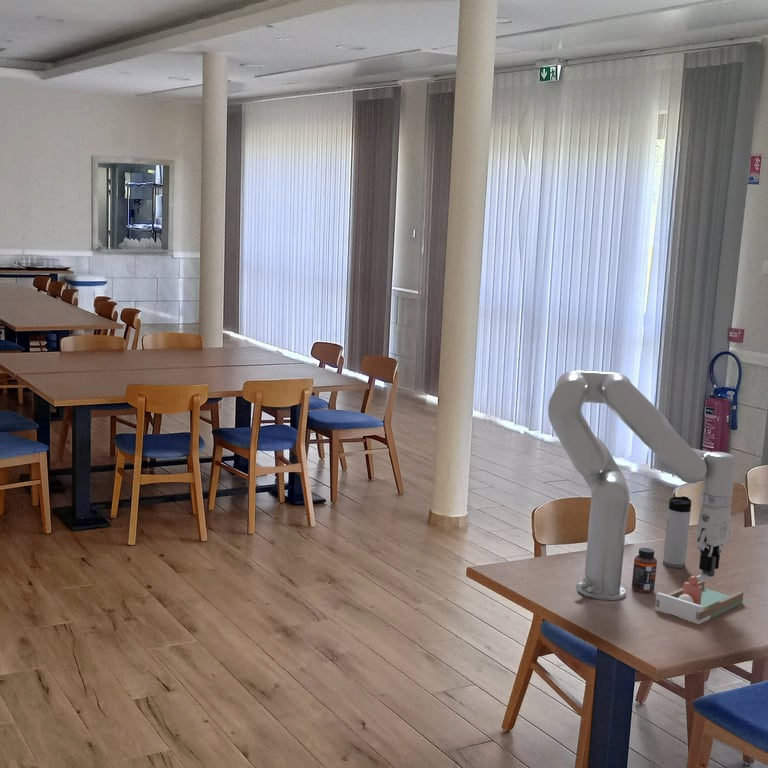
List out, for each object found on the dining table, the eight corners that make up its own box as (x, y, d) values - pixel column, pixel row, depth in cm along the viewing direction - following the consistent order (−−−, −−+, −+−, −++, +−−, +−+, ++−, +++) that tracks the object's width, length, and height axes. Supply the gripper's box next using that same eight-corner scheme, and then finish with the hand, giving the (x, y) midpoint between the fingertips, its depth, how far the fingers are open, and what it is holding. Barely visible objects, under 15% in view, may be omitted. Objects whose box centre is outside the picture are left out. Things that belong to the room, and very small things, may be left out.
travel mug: (689, 565, 301) (696, 498, 298) (679, 569, 296) (686, 502, 293) (669, 559, 305) (676, 494, 302) (659, 564, 300) (665, 497, 297)
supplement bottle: (652, 595, 272) (657, 554, 271) (630, 591, 274) (634, 550, 273) (655, 588, 278) (659, 548, 276) (632, 585, 280) (636, 545, 278)
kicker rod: (696, 609, 260) (701, 565, 258) (680, 604, 263) (685, 560, 261) (716, 600, 267) (720, 557, 266) (700, 595, 270) (705, 552, 269)
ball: (697, 597, 260) (694, 612, 260) (683, 592, 263) (679, 608, 262) (690, 596, 257) (687, 612, 257) (676, 591, 260) (672, 607, 260)
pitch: (698, 624, 253) (700, 606, 253) (655, 610, 261) (656, 593, 261) (742, 603, 270) (744, 586, 270) (700, 590, 279) (701, 574, 278)
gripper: (714, 508, 256) (707, 579, 258) (744, 499, 267) (736, 566, 270) (687, 501, 261) (680, 571, 263) (717, 492, 272) (710, 559, 275)
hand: (708, 568), depth 267 cm, fingers closed on kicker rod, 3 cm apart
